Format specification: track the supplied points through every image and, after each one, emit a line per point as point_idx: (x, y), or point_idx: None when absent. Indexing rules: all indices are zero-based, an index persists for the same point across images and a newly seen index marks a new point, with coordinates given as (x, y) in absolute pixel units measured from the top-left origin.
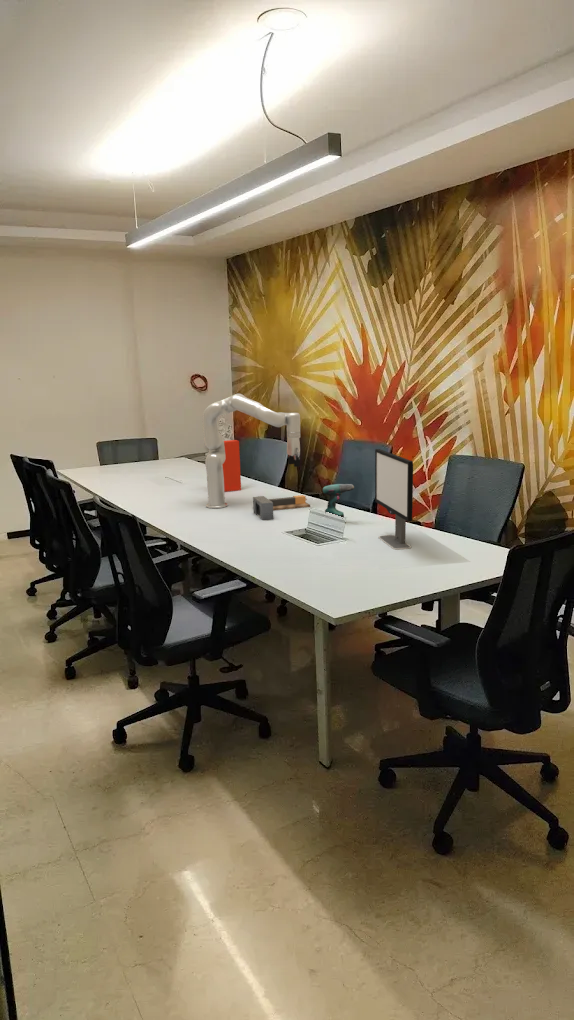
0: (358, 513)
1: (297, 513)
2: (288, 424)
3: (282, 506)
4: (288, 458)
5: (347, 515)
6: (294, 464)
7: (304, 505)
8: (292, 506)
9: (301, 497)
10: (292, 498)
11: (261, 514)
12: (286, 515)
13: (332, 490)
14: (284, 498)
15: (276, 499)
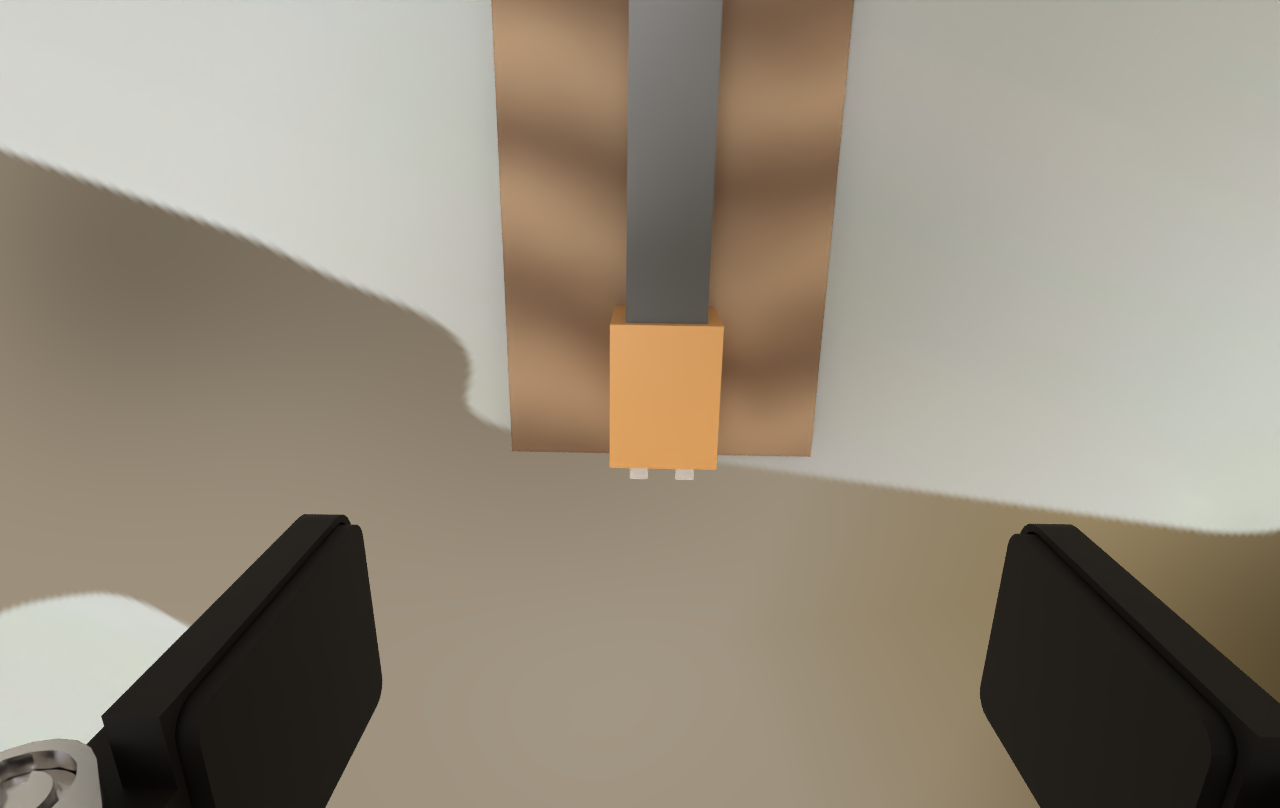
0: (78, 731)
1: (231, 186)
2: None
3: (560, 91)
4: (1243, 678)
5: (15, 623)
6: (265, 556)
7: (509, 381)
8: (507, 221)
9: (610, 408)
10: (627, 279)
11: None
12: (156, 7)
13: None
14: (658, 158)
15: (644, 5)
